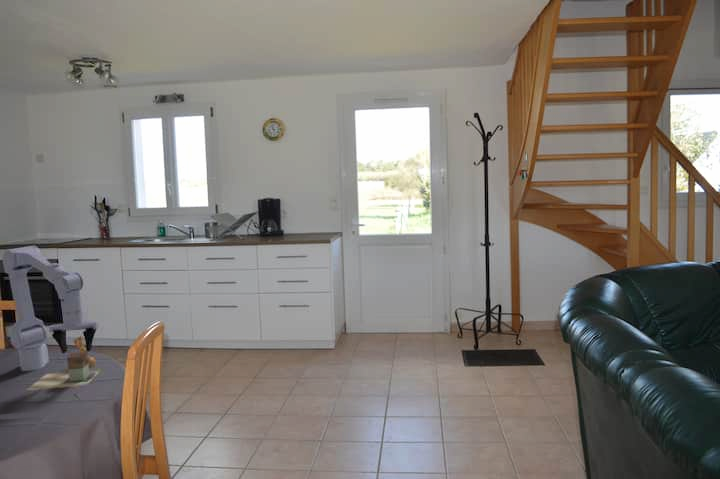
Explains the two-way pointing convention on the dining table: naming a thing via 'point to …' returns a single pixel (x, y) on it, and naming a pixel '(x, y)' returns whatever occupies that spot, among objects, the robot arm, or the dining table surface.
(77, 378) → the sage block
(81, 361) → the walnut block
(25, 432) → the dining table surface
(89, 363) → the figurine
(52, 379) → the baseplate
